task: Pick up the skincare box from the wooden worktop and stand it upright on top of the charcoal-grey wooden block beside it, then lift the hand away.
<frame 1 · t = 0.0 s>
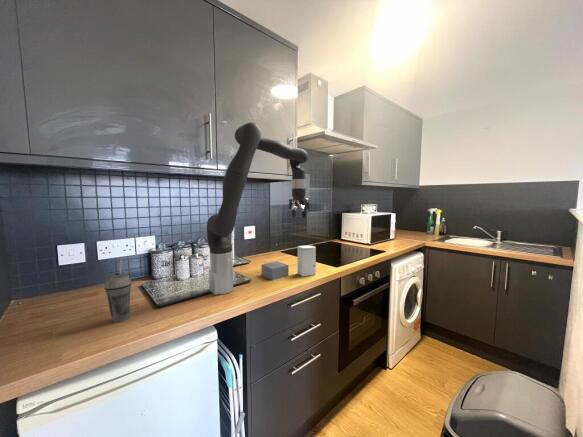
hand: (298, 217, 128), 29 cm above the worktop, tool pointing down, fingers open, 8 cm apart
charcoal block: (275, 276, 121), on the worktop
skincare box: (306, 274, 123), on the worktop
beverage cup: (120, 319, 78), on the worktop
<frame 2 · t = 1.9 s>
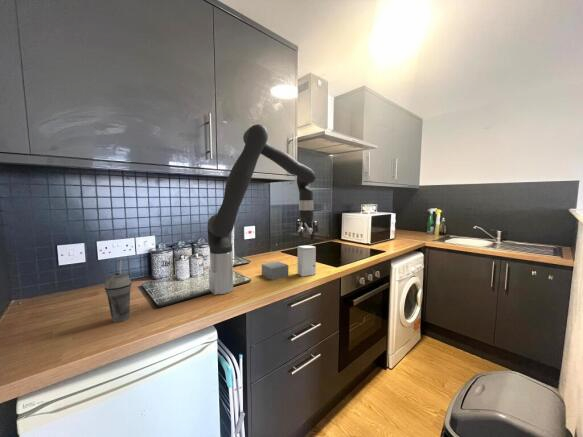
hand: (306, 240, 122), 18 cm above the worktop, tool pointing down, fingers open, 8 cm apart
nothing on the worktop moved.
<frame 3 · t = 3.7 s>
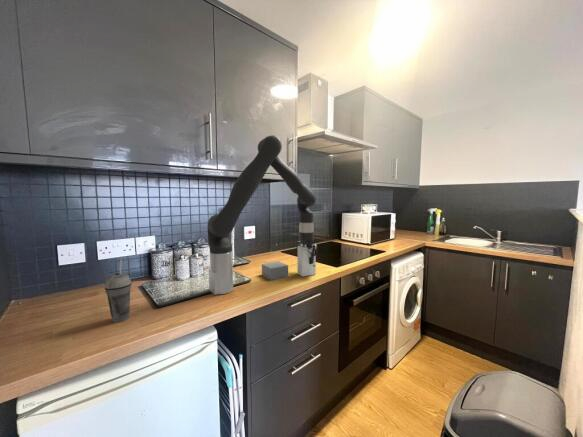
hand: (306, 262, 123), 6 cm above the worktop, tool pointing down, fingers closed on skincare box, 6 cm apart
skincare box: (306, 274, 123), on the worktop, touching gripper
everything else where it was.
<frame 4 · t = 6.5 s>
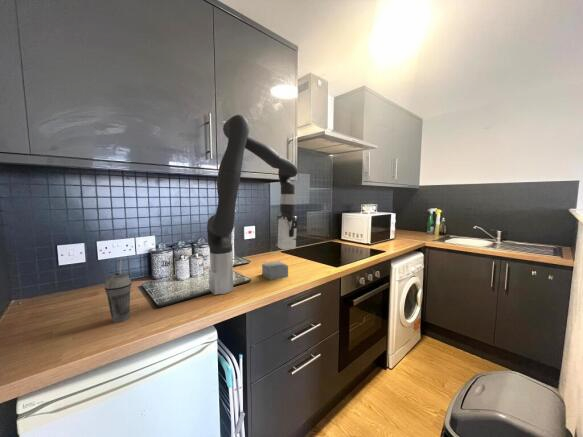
hand: (286, 235, 120), 21 cm above the worktop, tool pointing down, fingers closed on skincare box, 6 cm apart
skincare box: (286, 248, 120), point 14 cm above the worktop, touching gripper
everything else where it was.
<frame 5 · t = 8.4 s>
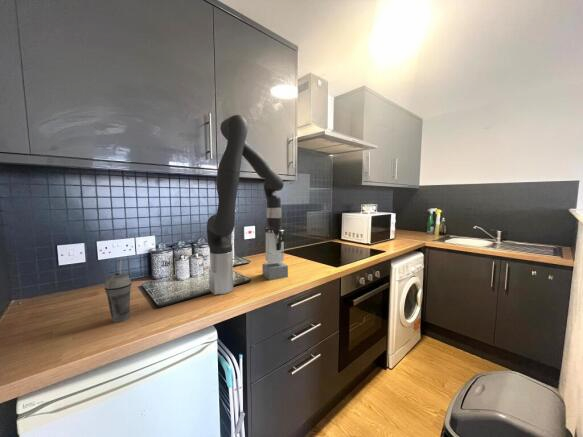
hand: (274, 248, 120), 14 cm above the worktop, tool pointing down, fingers closed on skincare box, 6 cm apart
skincare box: (274, 261, 120), point 8 cm above the worktop, touching gripper
everything else where it was.
when the fingers open (14 cm above the worktop, at t = 9.4 s): skincare box drops 2 cm, resting on charcoal block.
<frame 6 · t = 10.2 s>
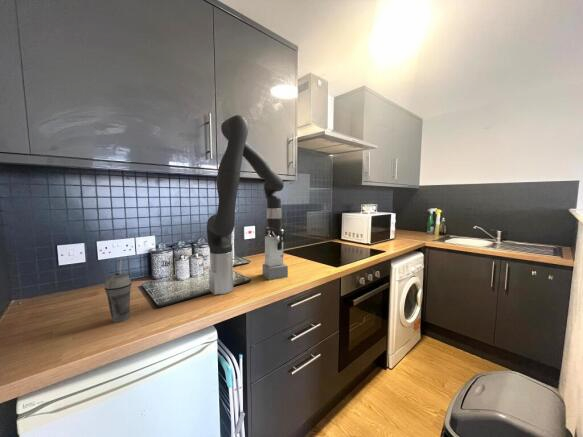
hand: (274, 248, 120), 14 cm above the worktop, tool pointing down, fingers open, 8 cm apart
charcoal block: (275, 276, 121), on the worktop, touching skincare box
skincare box: (274, 264, 121), point 5 cm above the worktop, touching charcoal block
everything else where it was.
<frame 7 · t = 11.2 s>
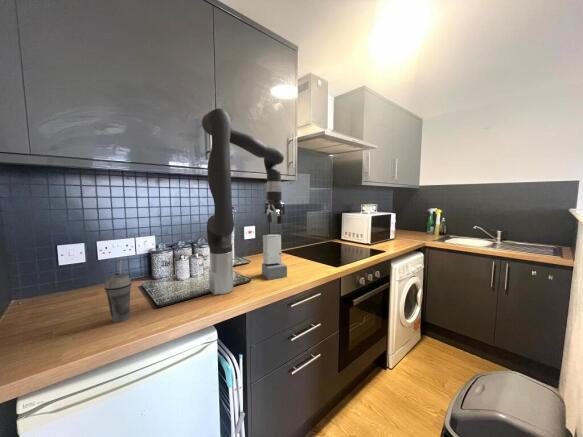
hand: (274, 223, 119), 27 cm above the worktop, tool pointing down, fingers open, 8 cm apart
charcoal block: (274, 275, 121), on the worktop
skincare box: (272, 263, 122), point 6 cm above the worktop
everything else where it was.
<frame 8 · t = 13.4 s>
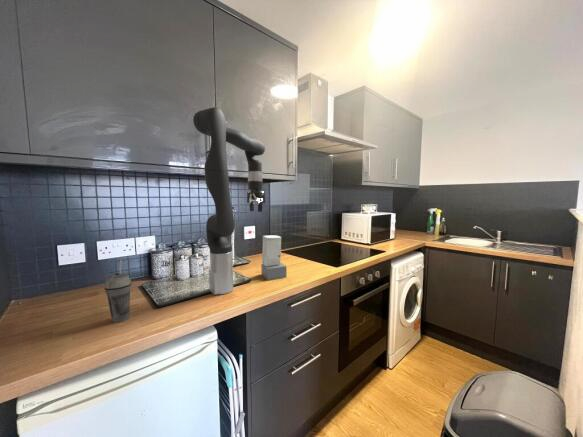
hand: (255, 211, 124), 33 cm above the worktop, tool pointing down, fingers open, 8 cm apart
charcoal block: (273, 276, 121), on the worktop, touching skincare box
skincare box: (271, 264, 121), point 6 cm above the worktop, touching charcoal block
everything else where it was.
at the end: skincare box inside the target area on the charcoal block (1.5 cm from its centre), point 6.0 cm above the charcoal block's base; skincare box tilted 4°; skincare box touching charcoal block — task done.
